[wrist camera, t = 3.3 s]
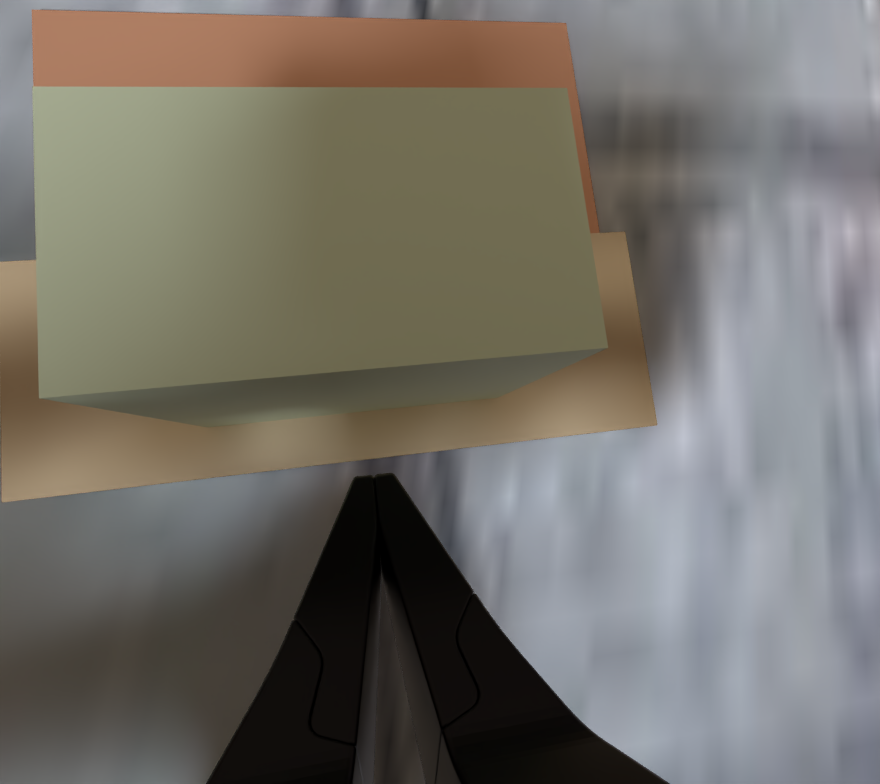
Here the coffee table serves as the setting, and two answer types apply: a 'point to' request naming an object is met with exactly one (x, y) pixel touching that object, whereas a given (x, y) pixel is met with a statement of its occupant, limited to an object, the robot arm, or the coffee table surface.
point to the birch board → (311, 438)
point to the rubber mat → (304, 55)
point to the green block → (306, 248)
